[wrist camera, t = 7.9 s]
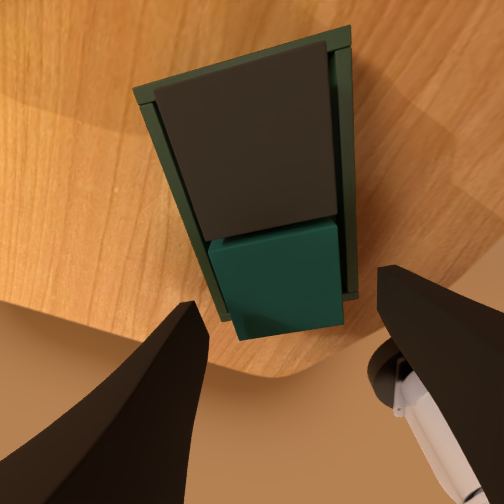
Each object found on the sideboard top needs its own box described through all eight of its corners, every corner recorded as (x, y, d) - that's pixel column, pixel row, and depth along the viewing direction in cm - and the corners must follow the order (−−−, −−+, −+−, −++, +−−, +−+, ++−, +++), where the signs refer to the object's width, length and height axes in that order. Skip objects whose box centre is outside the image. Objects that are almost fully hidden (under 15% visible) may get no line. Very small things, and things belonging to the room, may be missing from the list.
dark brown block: (313, 187, 12) (338, 214, 9) (219, 208, 13) (205, 242, 9) (300, 69, 10) (327, 38, 6) (187, 101, 11) (150, 89, 7)
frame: (347, 279, 16) (359, 299, 14) (224, 301, 16) (221, 322, 15) (334, 41, 10) (351, 23, 8) (150, 93, 11) (131, 87, 9)
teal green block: (321, 274, 15) (344, 324, 11) (242, 288, 15) (239, 341, 12) (313, 195, 13) (337, 225, 9) (220, 215, 13) (207, 252, 9)
